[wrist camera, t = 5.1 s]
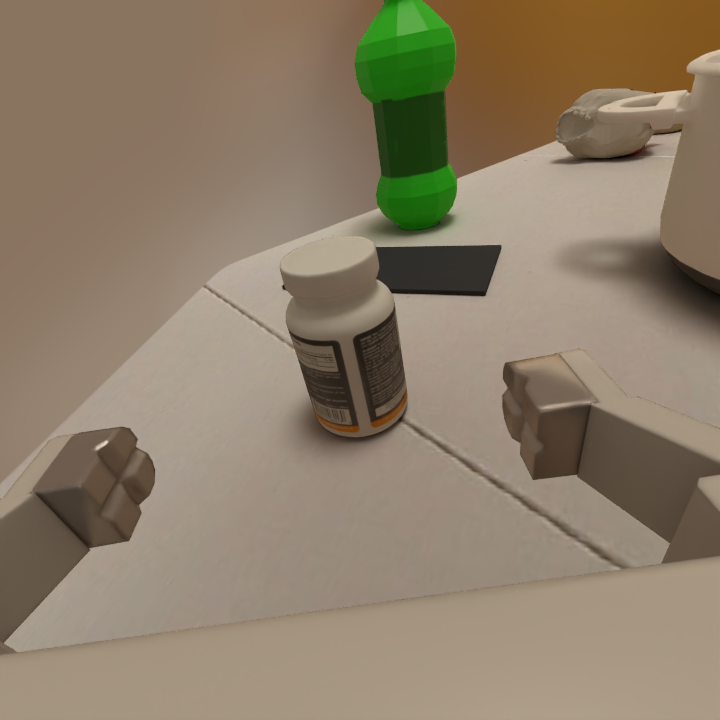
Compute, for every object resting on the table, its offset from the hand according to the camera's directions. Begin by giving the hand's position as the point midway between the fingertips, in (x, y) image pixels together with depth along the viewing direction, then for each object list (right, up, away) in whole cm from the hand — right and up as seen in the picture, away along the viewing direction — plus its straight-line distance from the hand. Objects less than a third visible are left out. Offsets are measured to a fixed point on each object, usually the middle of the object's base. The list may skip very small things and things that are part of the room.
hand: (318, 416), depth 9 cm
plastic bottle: (+8, +18, +43) cm, 48 cm away
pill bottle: (+1, -2, +16) cm, 16 cm away
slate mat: (+4, +10, +33) cm, 34 cm away
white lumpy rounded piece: (+40, +33, +54) cm, 75 cm away
